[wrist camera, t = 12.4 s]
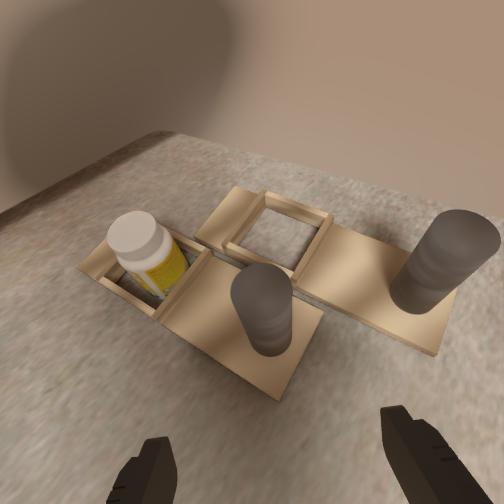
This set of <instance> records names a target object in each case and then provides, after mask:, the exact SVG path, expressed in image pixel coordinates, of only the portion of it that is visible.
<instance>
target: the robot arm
mask: <svg viewBox="0 0 504 504" xmlns="http://www.w3.org/2000/svg"><path fill="white" fill-rule="evenodd" d="M380 414H381V428H382V441H383V447H384V451H385V454H386V457H387V459H388V462H389V464H390V466H391V468H392V470H393V472H394V474H395V476H396V478H397V480H398V482H399V484H400V486H401V488H402V490H403V492H404V494H405V496H406V498H407V500H408V502H409V504H493V502H492V501H491V500H490V499H489V497H488V496H487V495H486V493H485V492H484V491H483V489H482V488H481V487H480V485H479V484H478V483H477V481H476V480H475V479H474V478H473V476H472V475H471V474H470V472H469V471H468V470H467V468H466V467H465V466H464V464H463V463H462V462H461V460H459V459H458V457H457V455H456V454H455V453H454V451H453V450H452V449H451V447H449V445H448V443H447V442H446V441H445V439H444V438H443V437H442V436H441V434H440V433H439V432H438V430H436V429H435V428H434V427H432V426H431V425H430V424H428V423H427V422H426V421H424V420H423V419H419V420H413V419H412V417H411V416H410V414H409V413H408V412H407V410H406V409H405V407H404V406H402V405H398V406H390V407H383V408H381V409H380ZM176 487H177V467H176V464H175V460H174V456H173V452H172V449H171V445H170V441H169V438H168V437H167V436H165V437H158V438H151V439H147V440H146V441H145V442H144V444H143V447H142V449H141V451H140V454H139V456H138V457H132V458H131V459H130V460H129V461H128V462H127V464H126V465H125V466H124V467H123V468H122V470H121V471H120V472H119V475H118V477H117V479H116V481H115V483H114V485H113V489H112V491H111V492H110V494H109V496H108V499H107V501H106V504H173V500H174V496H175V491H176Z"/></svg>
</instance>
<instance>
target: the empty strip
mask: <svg viewBox="0 0 504 504" xmlns="http://www.w3.org/2000/svg"><path fill="white" fill-rule="evenodd" d="M266 207H267V208H270V209H272V210H275V211H277V212H280V213H282V214H285V215H287V216H290V217H293V218H295V219H298V220H300V221H303V222H305V223H308V224H310V225H313V226H315V227H318V228H320V229H319V231H318V232H317V234H316V236H315V237H314V239H313V241H312V242H311V244H310V246H309V247H308V249H307V251H306V252H305V254H304V256H303V257H302V259H301V261H300V262H299V264H298V266H297V267H296V269H295V271H294V272H293V271H290V270H288V269H286V268H284V267H282V266H280V265H278V264H276V263H273V262H271V261H269V260H267V259H265V258H263V257H261V256H259V255H256V254H254V253H252V252H250V251H248V250H246V249H244V248H242V247H239V246H238V245H239V243H240V242H241V241H242V239H243V238H244V237H245V235H246V234H247V233H248V231H249V230H250V228H251V227H252V226H253V224H254V223H255V222H256V220H257V219H258V217H259V216H260V215H261V213H262V212H263V211H264V209H265V208H266ZM333 220H334V215H331V214H328V213H325V212H323V211H320V210H317V209H315V208H312V207H309V206H307V205H304V204H301V203H298V202H296V201H293V200H290V199H288V198H285V197H282V196H280V195H277V194H274V193H272V192H269V191H266V190H262V191H261V192H260V193H259V195H258V194H255V193H252V192H250V191H247V190H244V189H242V188H239V187H237V186H234V188H233V189H232V190H231V191H230V192H229V194H228V195H227V196H226V197H225V199H224V200H223V201H222V202H221V203H220V205H219V206H218V207H217V208H216V209H215V211H214V212H213V213H212V214H211V215H210V217H209V218H208V219H207V220H206V222H205V223H204V224H203V225H202V226H201V228H200V229H199V230H198V231H197V232H196V234H195V235H194V238H195V240H196V241H198V242H200V243H202V244H204V245H206V246H208V247H210V248H212V249H214V250H217V251H219V252H221V253H223V254H225V255H227V256H229V257H231V258H233V259H235V260H237V261H239V262H241V263H243V264H245V265H247V266H250V265H252V264H256V263H269V264H273V265H275V266H277V267H279V268H281V269H282V270H283V271H284V272H285V273H286V274H287V275H288V277H289V278H290V281H291V284H292V288H294V289H296V290H298V291H300V292H302V293H304V294H306V295H308V296H310V297H312V298H314V299H316V300H318V301H320V302H322V303H324V304H326V305H328V306H330V307H332V308H334V309H336V310H338V311H340V312H342V313H344V314H347V315H349V316H351V317H353V318H355V319H357V320H359V321H361V322H363V323H365V324H367V325H369V326H371V327H373V328H375V329H377V330H379V331H381V332H383V333H385V334H387V335H389V336H391V337H393V338H395V339H397V340H399V341H401V342H403V343H405V344H407V345H409V346H411V347H414V348H416V349H418V350H420V351H422V352H424V353H426V354H428V355H430V356H432V357H434V356H436V355H437V354H438V351H439V347H440V344H441V341H442V337H443V334H444V331H445V328H446V324H447V321H448V318H449V314H450V311H451V308H452V304H453V301H454V298H455V294H456V291H457V288H458V286H459V285H460V284H461V283H462V282H463V281H464V280H465V279H467V278H468V277H469V276H470V275H471V274H472V273H473V272H475V271H476V270H477V269H478V268H479V267H480V266H481V265H482V264H484V263H485V262H486V261H487V260H488V259H489V258H490V257H491V256H493V255H494V254H495V253H496V252H497V251H498V249H499V247H500V244H501V238H500V234H499V232H498V230H497V229H496V227H495V226H494V225H493V224H492V223H491V222H490V221H489V220H487V219H486V218H484V217H483V216H481V215H479V214H477V213H474V212H471V211H466V210H449V211H445V212H443V213H441V214H439V215H438V216H437V217H436V218H435V219H434V221H433V222H432V224H431V225H430V227H429V228H428V230H427V231H426V233H425V234H424V236H423V237H422V239H421V240H420V242H419V243H418V245H417V246H416V248H415V249H414V251H413V252H412V253H410V252H407V251H404V250H402V249H399V248H396V247H394V246H391V245H389V244H386V243H383V242H381V241H378V240H375V239H373V238H370V237H368V236H365V235H362V234H360V233H357V232H355V231H352V230H349V229H347V228H344V227H341V226H339V225H336V224H334V223H333Z"/></svg>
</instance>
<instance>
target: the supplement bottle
mask: <svg viewBox="0 0 504 504" xmlns="http://www.w3.org/2000/svg"><path fill="white" fill-rule="evenodd" d="M107 243H108V245H109V247H110V248H111V249H112V250H113V251H114V252H115V254H116V255H117V259H118V262H119V263H120V265H121V266H122V267H123V268H124V269H125V270H126V271H127V272H128V273H129V274H130V275H131V276H132V277H133V278H134V279H135V280H136V281H137V282H138V283H139V284H140V285H141V286H142V287H143V288H144V289H146V290H147V292H149V293H150V294H151V295H152V296H153V297H155V298H158V299H165V298H166V297H167V296H168V294H169V293H170V292H171V291H172V289H173V288H174V287H175V285H176V284H177V283H178V282H179V280H180V279H181V278H182V277H183V275H184V274H185V273H186V271H187V270H188V269H189V268H190V265H189V263H188V262H187V260H186V259H185V257H184V255H183V254H182V252H181V251H180V249H179V247H178V246H177V244H176V242H175V241H174V239H173V238H172V236H171V234H170V233H169V232H168V231H167V230H166V229H165V228H164V227H162V226H160V225H159V223H158V222H157V221H156V220H155V218H154V217H153V216H152V215H151V214H149V213H148V212H145V211H132V212H128V213H126V214H124V215H122V216H120V217H119V218H117V219H116V220H115V221H114V222H113V223H112V225H111V226H110V228H109V229H108V232H107Z"/></svg>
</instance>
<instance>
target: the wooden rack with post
mask: <svg viewBox="0 0 504 504" xmlns="http://www.w3.org/2000/svg"><path fill="white" fill-rule="evenodd" d="M159 225H160V224H159ZM160 226H162V225H160ZM162 227H164V226H162ZM164 228H165V229H166V230H167V231H168V232H169V233H170V234H171V236H172V238H173V239H174V241H175V242H176V244H177V246H178V247H179V248H181V249H183V250H185V251H187V252H189V253H191V254H193V255H195V256H197V259H196V260H195V261H194V263H193V264H192V265H191V266H190V268H189V269H188V270H187V271H186V273H185V274H184V275H183V277H182V278H181V279H180V280H179V282H178V283H177V284H176V285H175V287H174V288H173V289H172V291H171V292H170V293H169V294H168V296H167V297H166V298H165V299H164V301H163V302H162V303H161V304H160V306H159V307H158V308H157V310H155V309H153V308H152V307H150V306H149V305H147V304H145V303H144V302H142V301H141V300H139V299H138V298H136V297H135V296H133V295H132V294H130V293H128V292H127V291H125V290H124V289H122V288H121V287H119V286H118V285H116V284H115V283H116V282H117V281H118V280H119V279H120V278H121V276H122V275H123V274H124V273H125V272H126V270H125V269H124V268H123V267H122V266H121V265H120V263H119V262H118V259H117V255H116V254H115V252H114V251H113V250H112V249H111V248H110V247H109V245H108V243H107V237H106V238H105V239H104V240H103V241H102V242H101V243H100V244H99V245H98V246H97V247H96V248H95V249H94V250H93V251H92V252H91V254H90V255H89V256H88V257H87V258H86V259H85V260H84V261H83V262H82V263H81V264H80V265H79V266H78V267H77V268H78V269H79V270H81V271H82V272H83V273H85V274H86V275H88V276H89V277H91V278H92V279H94V280H95V281H97V282H98V283H100V284H102V285H103V286H105V287H106V288H108V289H109V290H111V291H112V292H114V293H115V294H117V295H118V296H120V297H121V298H123V299H124V300H126V301H127V302H129V303H130V304H132V305H133V306H135V307H136V308H138V309H139V310H141V311H142V312H144V313H145V314H147V315H148V316H150V317H151V318H153V319H154V320H156V321H157V322H159V323H160V324H162V325H163V326H165V327H166V328H168V329H169V330H171V331H172V332H174V333H175V334H177V335H178V336H180V337H181V338H183V339H184V340H186V341H187V342H189V343H191V344H192V345H194V346H195V347H197V348H198V349H200V350H201V351H203V352H204V353H206V354H207V355H209V356H210V357H212V358H213V359H215V360H216V361H218V362H219V363H221V364H222V365H224V366H225V367H227V368H228V369H230V370H231V371H233V372H234V373H236V374H237V375H239V376H240V377H242V378H243V379H245V380H246V381H248V382H249V383H251V384H252V385H254V386H255V387H257V388H258V389H260V390H261V391H263V392H264V393H266V394H267V395H269V396H270V397H272V398H273V399H275V400H276V401H278V402H279V401H280V399H281V397H282V395H283V393H284V391H285V389H286V387H287V385H288V383H289V382H290V380H291V378H292V376H293V374H294V372H295V370H296V368H297V366H298V364H299V362H300V360H301V358H302V356H303V354H304V352H305V350H306V348H307V346H308V344H309V342H310V340H311V338H312V336H313V334H314V332H315V330H316V328H317V326H318V324H319V322H320V320H321V318H322V316H323V314H324V311H322V310H320V309H318V308H316V307H314V306H312V305H310V304H308V303H306V302H304V301H302V300H300V299H298V298H296V297H294V296H292V293H293V289H292V284H291V281H290V278H289V277H288V275H287V274H286V273H285V272H284V271H283V270H282V269H281V268H279V267H277V266H275V265H273V264H269V263H256V264H252V265H250V266H247V267H246V268H244V269H242V270H240V269H238V268H236V267H234V266H233V265H231V264H229V263H227V262H225V261H223V260H221V259H219V258H217V257H215V256H213V254H212V252H211V249H209V248H207V247H205V246H203V245H200V244H198V243H196V242H194V241H192V240H190V239H188V238H186V237H184V236H182V235H180V234H178V233H176V232H174V231H172V230H170V229H168V228H166V227H164Z"/></svg>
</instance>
